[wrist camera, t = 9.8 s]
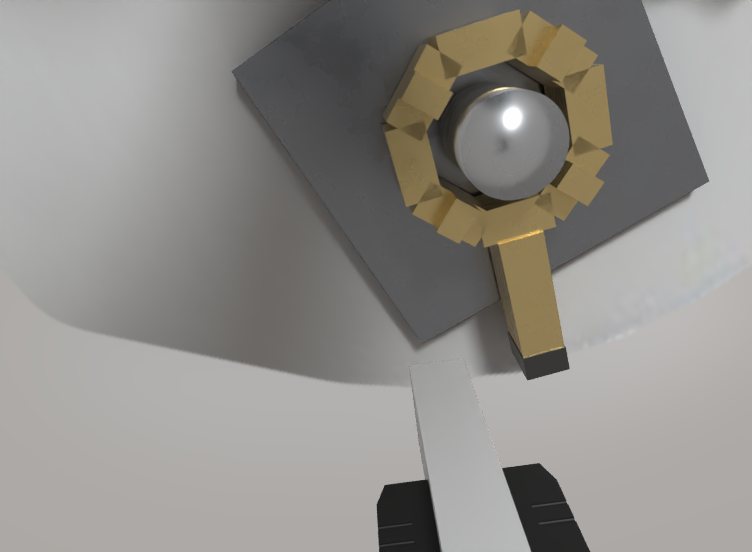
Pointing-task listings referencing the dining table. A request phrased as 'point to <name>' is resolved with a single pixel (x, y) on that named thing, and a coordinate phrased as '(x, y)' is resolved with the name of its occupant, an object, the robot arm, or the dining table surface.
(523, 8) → the base plate
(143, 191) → the dining table surface
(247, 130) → the dining table surface
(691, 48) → the dining table surface
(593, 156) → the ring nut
